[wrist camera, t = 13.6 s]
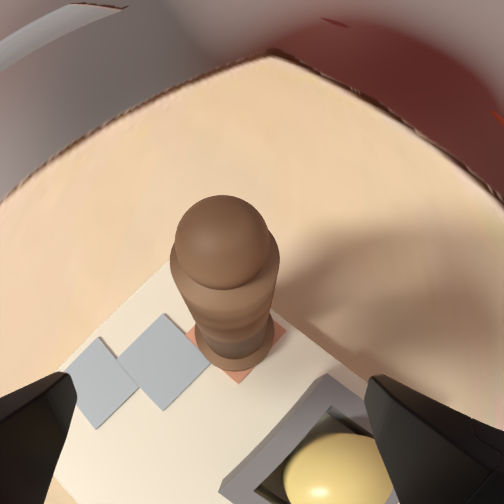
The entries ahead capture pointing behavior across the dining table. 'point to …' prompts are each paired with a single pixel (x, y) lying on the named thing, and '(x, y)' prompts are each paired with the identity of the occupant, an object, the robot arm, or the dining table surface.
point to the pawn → (227, 280)
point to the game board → (195, 409)
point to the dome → (336, 471)
